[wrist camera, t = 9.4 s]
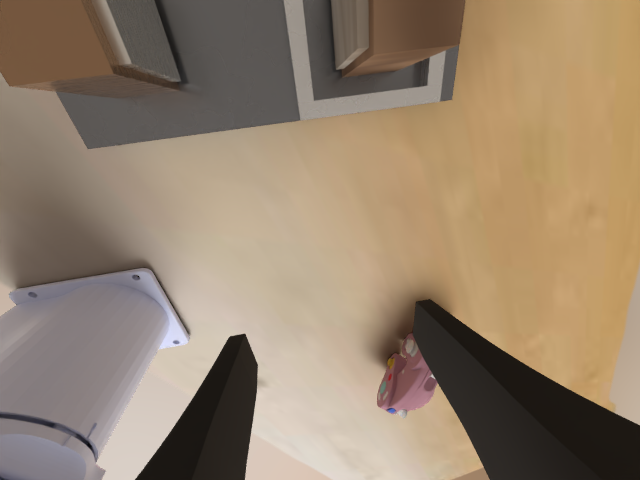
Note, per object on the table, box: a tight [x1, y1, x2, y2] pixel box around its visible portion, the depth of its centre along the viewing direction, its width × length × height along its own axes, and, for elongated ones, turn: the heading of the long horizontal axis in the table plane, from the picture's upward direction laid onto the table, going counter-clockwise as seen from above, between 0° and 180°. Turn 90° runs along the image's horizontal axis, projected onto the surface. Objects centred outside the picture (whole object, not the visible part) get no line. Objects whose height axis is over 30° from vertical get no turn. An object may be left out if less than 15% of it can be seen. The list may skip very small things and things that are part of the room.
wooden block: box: [331, 0, 465, 78], centre depth 9 cm, size 3×4×5 cm
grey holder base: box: [0, 0, 459, 149], centre depth 9 cm, size 20×8×6 cm, turn 97°
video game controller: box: [377, 333, 438, 418], centre depth 23 cm, size 10×5×7 cm, turn 159°
